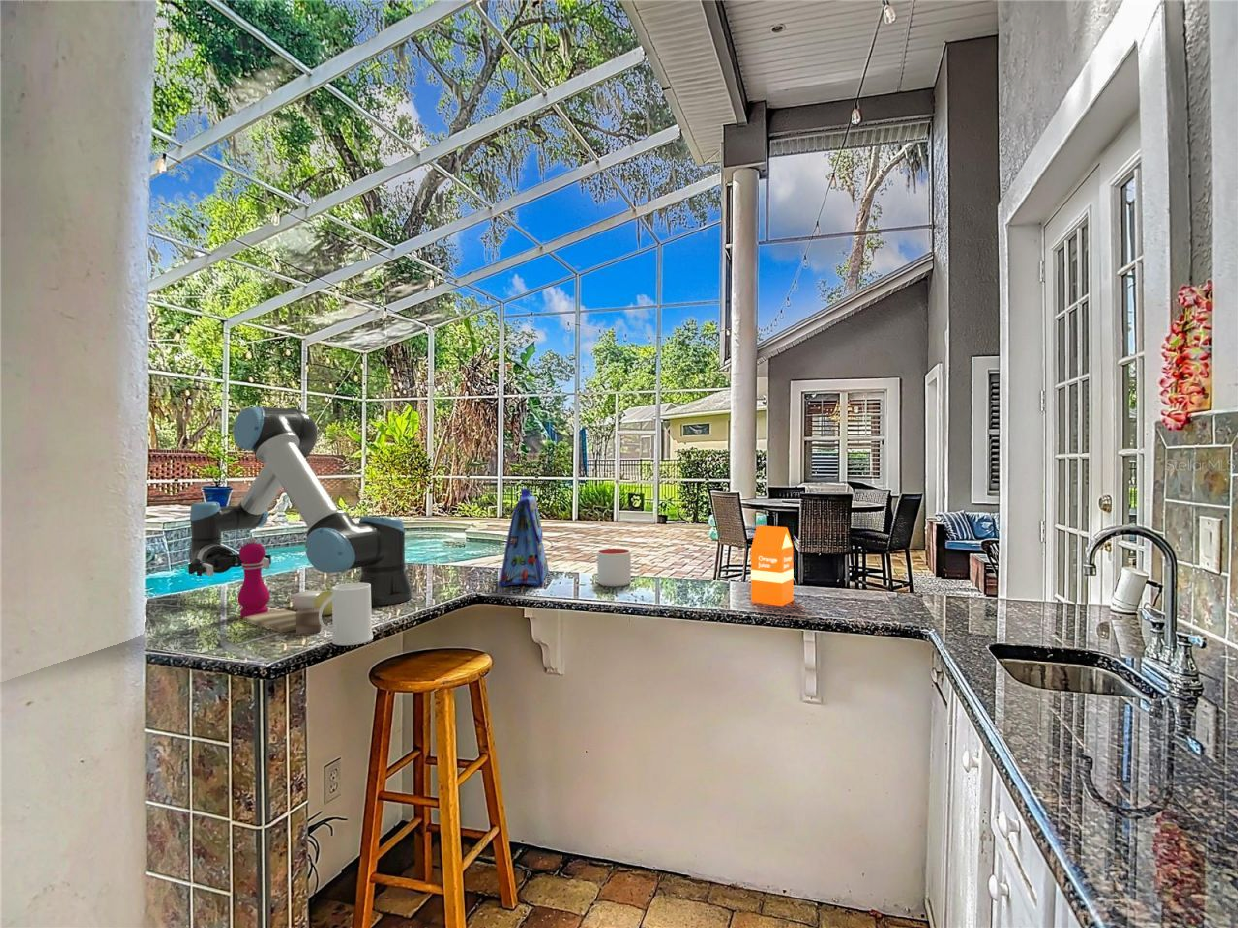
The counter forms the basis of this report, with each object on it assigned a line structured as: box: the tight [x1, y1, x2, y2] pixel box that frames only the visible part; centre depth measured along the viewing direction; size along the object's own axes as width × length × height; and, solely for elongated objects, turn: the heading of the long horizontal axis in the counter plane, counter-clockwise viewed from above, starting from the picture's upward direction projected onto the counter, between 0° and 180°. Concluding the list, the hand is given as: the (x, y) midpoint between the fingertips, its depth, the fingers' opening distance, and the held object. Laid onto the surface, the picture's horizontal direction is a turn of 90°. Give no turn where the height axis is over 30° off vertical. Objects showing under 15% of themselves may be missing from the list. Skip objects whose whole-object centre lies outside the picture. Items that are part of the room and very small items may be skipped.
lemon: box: [314, 590, 332, 616], centre depth 173 cm, size 6×6×6 cm
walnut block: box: [295, 607, 322, 636], centre depth 158 cm, size 5×5×5 cm
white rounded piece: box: [291, 590, 325, 610], centre depth 183 cm, size 8×8×4 cm
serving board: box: [242, 608, 296, 634], centre depth 166 cm, size 18×10×1 cm, turn 54°
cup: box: [596, 548, 632, 588], centre depth 206 cm, size 10×10×10 cm
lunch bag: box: [499, 487, 550, 587], centre depth 214 cm, size 22×14×29 cm, turn 1°
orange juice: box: [750, 524, 795, 607], centre depth 181 cm, size 8×9×20 cm
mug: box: [319, 581, 374, 646], centre depth 149 cm, size 12×8×12 cm
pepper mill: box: [237, 536, 271, 618], centre depth 174 cm, size 7×7×20 cm
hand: (240, 567), depth 180 cm, fingers open, 13 cm apart
